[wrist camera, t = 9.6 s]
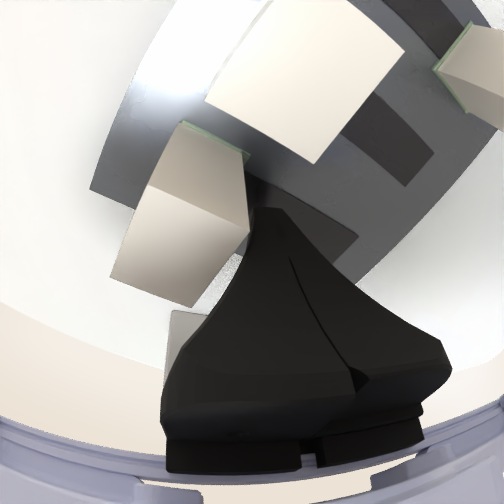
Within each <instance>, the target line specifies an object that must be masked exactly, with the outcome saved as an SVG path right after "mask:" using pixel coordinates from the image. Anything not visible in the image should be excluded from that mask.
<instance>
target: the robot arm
mask: <svg viewBox="0 0 504 504" xmlns="http://www.w3.org/2000/svg"><path fill="white" fill-rule="evenodd" d="M451 372H452V366H451V364H450V361H449V359H448V357H447V354H446V352H445V350H444V348H443V345H442V343H441V341H440V340H439V339H437V338H435V337H433V336H431V335H429V334H428V333H426V332H424V331H422V330H420V329H418V328H416V327H415V326H413V325H411V324H409V323H408V322H406V321H404V320H403V319H401V318H400V317H398V316H397V315H395V314H393V313H392V312H390V311H389V310H387V309H386V308H385V307H383V306H382V305H380V304H379V303H377V302H376V301H375V300H373V299H372V298H371V297H369V296H368V295H367V294H365V293H364V292H363V291H362V290H360V289H359V288H358V287H357V286H355V285H354V284H353V283H352V282H351V281H350V280H349V279H347V278H346V277H345V276H344V275H343V274H342V273H341V272H339V271H338V270H337V269H336V268H335V267H334V266H333V265H332V264H331V263H330V262H329V261H328V260H327V259H326V258H325V257H324V256H323V255H322V254H321V253H320V252H319V251H318V249H317V248H316V247H315V246H314V245H313V244H312V243H311V242H310V241H309V240H308V238H307V237H306V236H305V235H304V234H303V233H302V231H301V230H300V229H299V228H298V227H297V226H296V224H295V223H294V222H293V221H292V220H291V218H290V217H289V216H288V215H287V214H286V212H285V211H284V210H283V209H282V208H272V207H262V206H256V207H255V208H253V212H252V217H251V223H250V232H249V234H248V240H247V246H246V251H245V254H244V256H243V259H242V261H241V263H240V265H239V267H238V269H237V271H236V273H235V275H234V277H233V279H232V280H231V282H230V284H229V285H228V287H227V289H226V290H225V292H224V294H223V295H222V297H221V298H220V300H219V301H218V303H217V304H216V305H215V307H214V308H213V309H212V311H211V312H210V313H209V315H208V316H207V318H206V319H205V320H204V321H203V323H202V324H201V325H200V326H199V328H198V329H197V330H196V331H195V332H194V333H193V334H192V335H191V337H190V338H189V339H188V340H187V341H186V342H185V343H184V344H183V346H182V347H181V348H180V351H179V353H178V355H177V357H176V359H175V361H174V363H173V365H172V368H171V370H170V372H169V374H168V377H167V379H166V382H165V385H164V388H163V392H162V396H161V410H160V423H161V425H162V428H163V430H164V433H165V435H166V437H167V441H166V456H162V455H154V454H145V453H138V452H131V451H125V450H119V449H113V448H108V447H103V446H98V445H93V444H89V443H85V442H80V441H76V440H73V439H69V438H65V437H61V436H58V435H54V434H51V433H48V432H44V431H41V430H38V429H35V428H32V427H29V426H26V425H24V424H21V423H18V422H15V421H13V420H10V419H7V418H5V417H3V416H0V504H203V496H202V495H201V493H200V492H199V491H198V490H188V489H179V488H171V487H164V486H157V485H149V484H144V482H143V481H141V480H140V479H143V480H151V481H159V482H168V483H180V484H198V485H250V484H268V483H280V482H289V481H298V480H306V479H312V478H319V477H324V476H331V475H336V474H341V473H346V472H351V471H355V470H359V469H363V468H368V467H372V466H376V465H379V464H383V463H386V462H390V461H393V460H397V459H400V458H403V457H406V456H409V455H412V454H415V453H417V454H416V456H415V458H413V459H410V460H408V461H405V462H403V463H401V464H399V465H397V466H395V467H393V468H390V469H388V470H385V471H382V472H379V473H377V474H374V475H371V477H370V480H371V486H372V488H371V490H370V491H366V492H363V493H359V494H355V495H351V496H347V497H342V498H338V499H333V500H329V501H323V502H318V503H312V504H504V478H503V472H504V394H503V395H502V396H501V397H500V398H499V399H497V400H495V401H493V402H491V403H489V404H487V405H484V406H482V407H480V408H478V409H475V410H473V411H471V412H469V413H466V414H464V415H461V416H458V417H456V418H453V419H450V420H448V421H445V422H442V423H439V424H436V425H434V426H431V427H428V428H425V429H422V428H421V424H420V421H419V416H421V415H423V408H422V405H421V402H422V401H424V400H425V399H426V398H427V397H429V396H430V395H431V394H433V393H434V392H435V391H436V390H437V389H439V388H440V387H441V386H442V385H443V384H444V383H445V382H446V381H447V380H448V378H449V377H450V375H451Z"/></svg>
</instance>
